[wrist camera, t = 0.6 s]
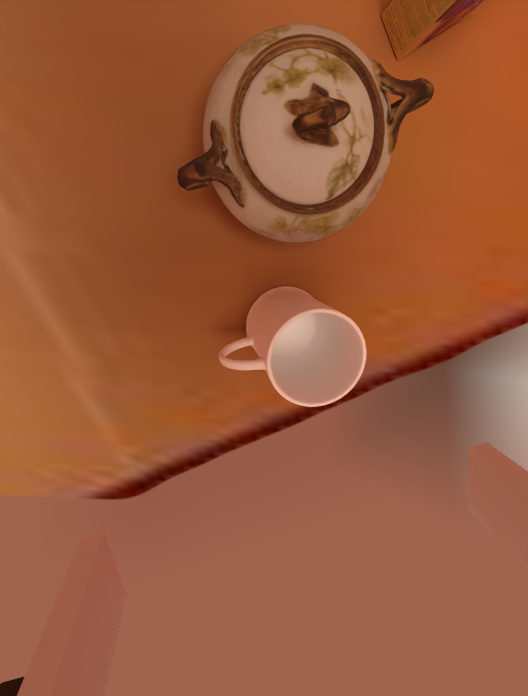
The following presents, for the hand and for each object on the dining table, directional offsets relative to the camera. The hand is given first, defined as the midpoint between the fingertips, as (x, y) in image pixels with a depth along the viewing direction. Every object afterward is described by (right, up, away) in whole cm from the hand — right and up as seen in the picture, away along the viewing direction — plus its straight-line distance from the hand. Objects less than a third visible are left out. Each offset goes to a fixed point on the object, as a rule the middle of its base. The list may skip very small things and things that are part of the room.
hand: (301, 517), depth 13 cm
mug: (-1, +8, +26) cm, 28 cm away
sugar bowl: (0, +24, +22) cm, 33 cm away
